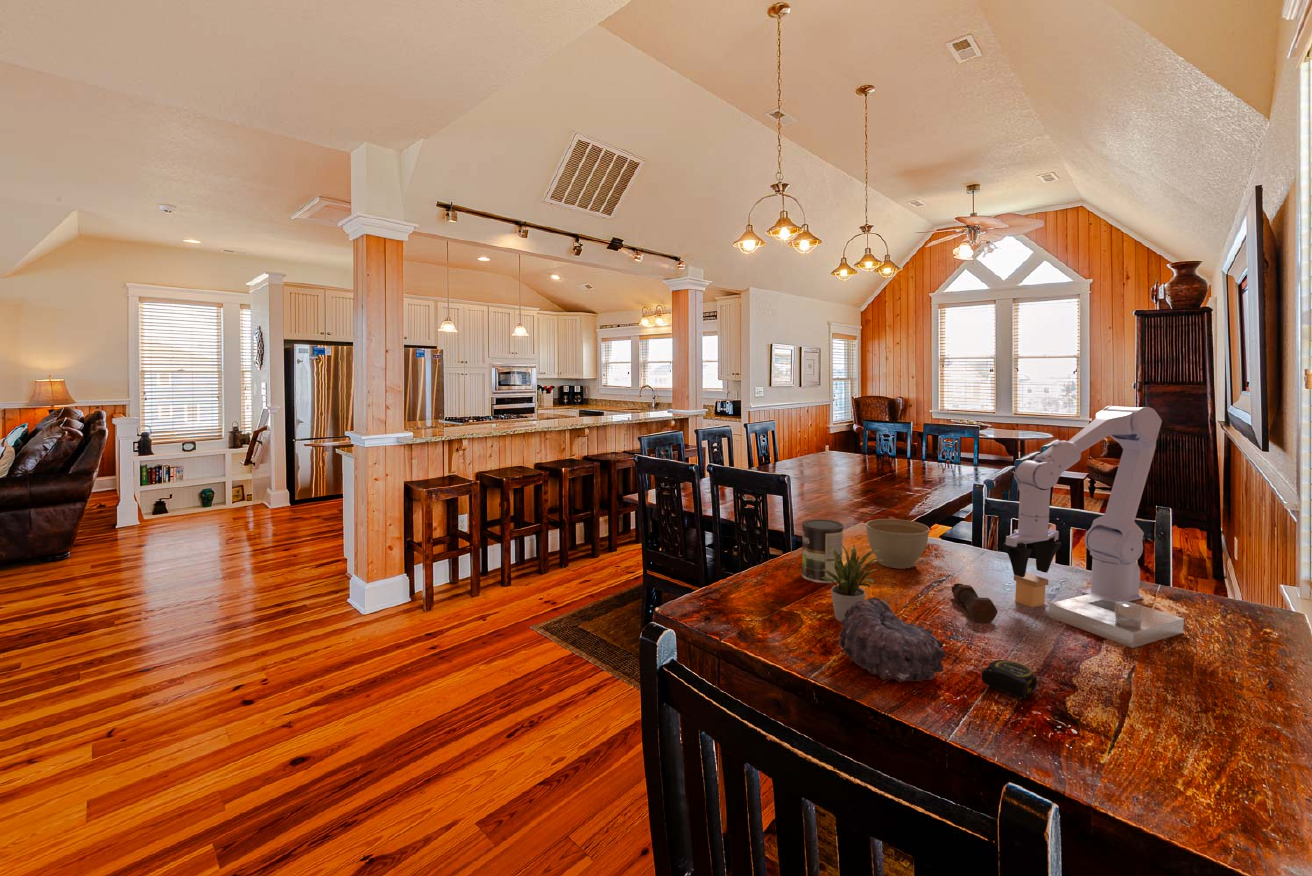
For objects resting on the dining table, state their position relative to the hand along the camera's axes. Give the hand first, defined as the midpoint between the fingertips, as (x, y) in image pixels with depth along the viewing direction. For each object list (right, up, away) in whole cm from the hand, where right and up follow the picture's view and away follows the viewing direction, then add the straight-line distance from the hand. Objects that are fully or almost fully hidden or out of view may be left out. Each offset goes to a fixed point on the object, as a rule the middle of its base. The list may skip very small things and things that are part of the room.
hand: (1030, 573), depth 133 cm
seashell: (-43, -10, -26) cm, 51 cm away
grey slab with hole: (+10, -8, -12) cm, 17 cm away
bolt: (-15, -8, -2) cm, 17 cm away
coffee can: (-41, -6, +20) cm, 47 cm away
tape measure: (-27, -11, -36) cm, 46 cm away
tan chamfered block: (0, -7, +1) cm, 7 cm away
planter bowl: (-18, -5, +30) cm, 35 cm away
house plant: (-42, -8, -7) cm, 43 cm away
